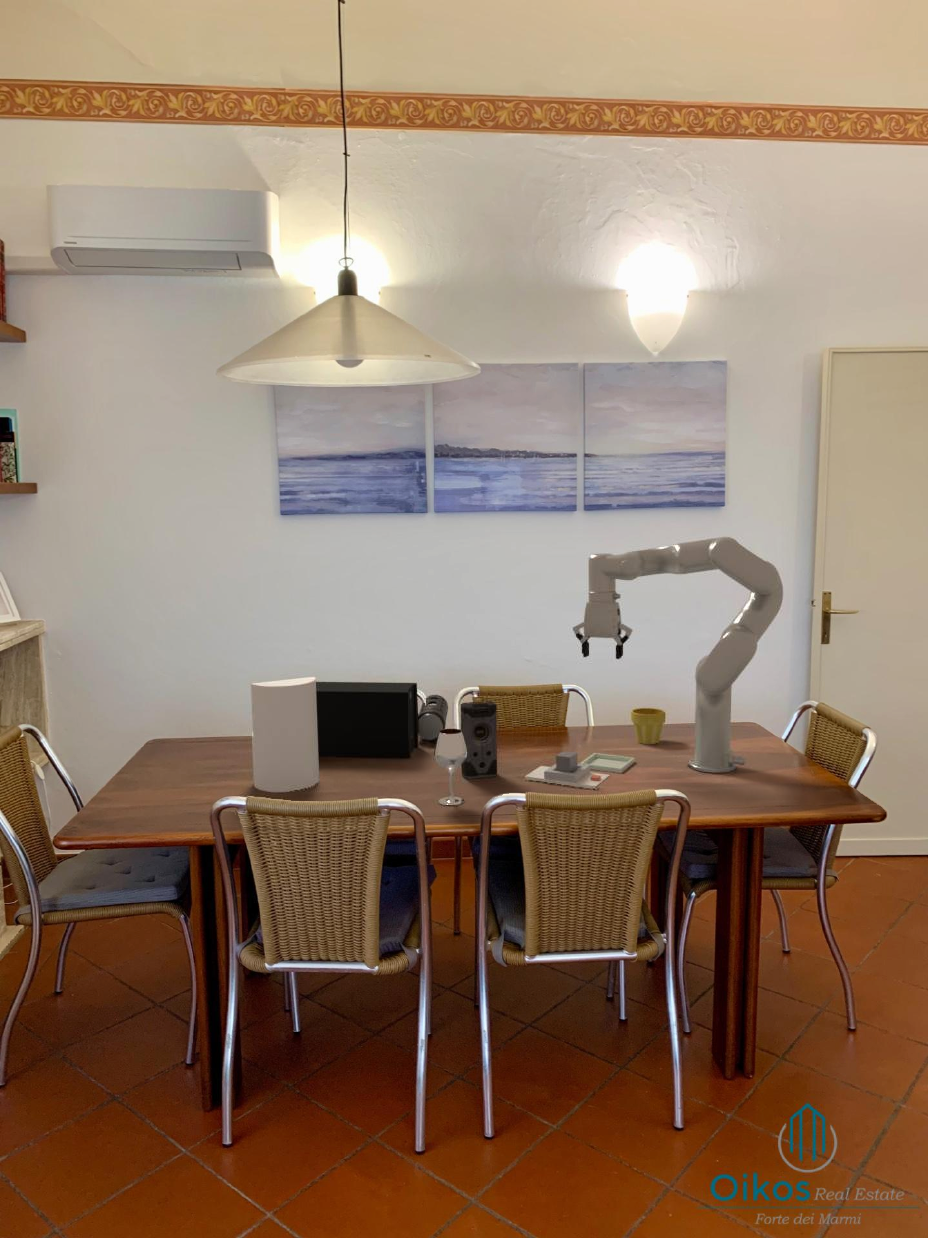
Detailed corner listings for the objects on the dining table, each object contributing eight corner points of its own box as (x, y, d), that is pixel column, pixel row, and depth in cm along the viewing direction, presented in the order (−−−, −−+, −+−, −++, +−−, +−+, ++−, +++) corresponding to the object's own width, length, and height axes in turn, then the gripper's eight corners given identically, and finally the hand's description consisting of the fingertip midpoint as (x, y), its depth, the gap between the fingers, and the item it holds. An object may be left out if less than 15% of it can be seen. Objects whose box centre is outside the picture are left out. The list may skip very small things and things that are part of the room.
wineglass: (467, 796, 232) (466, 727, 229) (468, 806, 223) (467, 735, 221) (435, 797, 231) (433, 727, 229) (435, 807, 223) (433, 735, 221)
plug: (577, 774, 245) (577, 752, 245) (570, 779, 241) (570, 757, 240) (563, 772, 247) (563, 751, 247) (556, 777, 243) (556, 755, 242)
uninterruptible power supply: (408, 760, 265) (407, 693, 263) (297, 757, 270) (294, 691, 267) (418, 745, 281) (417, 682, 279) (313, 743, 286) (310, 680, 283)
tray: (634, 764, 257) (634, 757, 257) (621, 776, 247) (621, 768, 247) (594, 759, 263) (594, 753, 263) (579, 770, 253) (579, 763, 252)
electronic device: (465, 780, 245) (464, 707, 243) (460, 773, 251) (459, 702, 248) (498, 776, 248) (498, 704, 245) (492, 770, 253) (491, 700, 251)
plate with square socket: (609, 778, 245) (609, 767, 244) (595, 790, 235) (595, 778, 235) (541, 769, 254) (541, 758, 254) (524, 780, 245) (524, 769, 244)
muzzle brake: (449, 723, 310) (448, 693, 309) (445, 744, 282) (444, 712, 281) (421, 723, 310) (420, 693, 309) (414, 745, 283) (413, 712, 281)
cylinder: (328, 785, 242) (325, 681, 239) (265, 796, 234) (260, 689, 230) (306, 769, 257) (302, 671, 254) (245, 779, 249) (241, 678, 245)
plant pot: (636, 736, 289) (636, 706, 288) (668, 739, 284) (668, 708, 283) (627, 744, 280) (627, 713, 278) (660, 747, 275) (660, 715, 274)
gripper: (635, 597, 256) (635, 657, 258) (577, 595, 264) (578, 653, 266) (627, 599, 249) (627, 661, 251) (568, 598, 257) (568, 657, 259)
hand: (602, 657), depth 259 cm, fingers open, 9 cm apart
